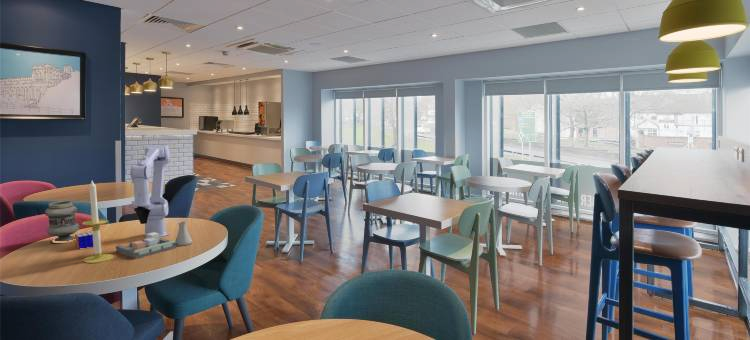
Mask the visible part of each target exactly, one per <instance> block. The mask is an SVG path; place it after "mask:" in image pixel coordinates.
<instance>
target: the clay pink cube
mask: <svg viewBox="0 0 750 340" xmlns="http://www.w3.org/2000/svg"><path fill="white" fill-rule="evenodd" d="M143 248H145V242H143V241H141V240H137V241H133V242H132V249H133V250H139V249H143Z"/></svg>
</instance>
